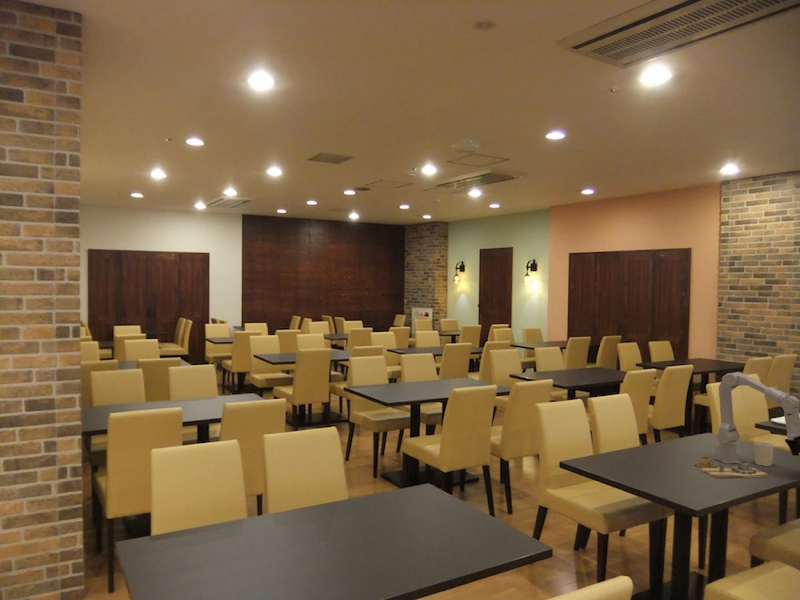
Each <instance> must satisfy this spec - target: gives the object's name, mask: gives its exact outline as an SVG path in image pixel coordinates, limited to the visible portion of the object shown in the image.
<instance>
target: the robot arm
mask: <svg viewBox="0 0 800 600" xmlns="http://www.w3.org/2000/svg"><path fill="white" fill-rule="evenodd" d="M721 379H722V380H721V381H720V384H719V386H718V397H719V409H720V410H719V412H720V425H719V426H718V431H717V436H716V437H717V440H718V441H717V442H716V444H715V454H714V455H715V457H713V459H715V460H716V461H719V462H722V463H723V464H738V462H739V460H737V455H738V454H737V448H738V446H737V444H738V442H737V441H738V440H739V439H740V434H739V433H740V432H738V431H739V430H738V429H737V426H736V424H735V423H734V421H735V420H734V409H733V397H732V391H733V390H735V389H736V388H737V387H739V386H740V387H741V386H748V387H750V388H752V389H753V390H756V391H757V392H760V393H762V394H764V397H765V398H767V399H768V400H769V401H772V402H774V403H776V404H778V405H779V406H780V407H781V408H782V410H783V413H784V416H783V417H784V420H785V426H786V428H785V429H786V436H787V438H785V439H784V442H785V443H786V444H787V446H788V448H789V450H790V454H791V455H792V456H796V457H797V456H798V457H799V456H800V455H799V454H800V410H799V407H800V400H799V398H798V397H796V396H795V395H790V394H789V393H788V392H786V393H785V392H783V391H782V390H779V387H777V386H775V387H774V386H770V387H768V386H767V385H765V384H763V383H761V382H760V381H757V380H756V379H754V378H752V377H751V376H749V375H748V374H746V373H744V372H741V371H737V372H730V373H726V374H725V375H723V376H722V378H721Z"/></svg>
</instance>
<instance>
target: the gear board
mask: <svg viewBox="0 0 800 600" xmlns="http://www.w3.org/2000/svg"><path fill="white" fill-rule="evenodd" d="M738 461H739V460H738ZM724 464H725V463H719V467H717V468H699V469H700V470H701V471H700V470H699V471H700V472H702V471H703V473H704V472H705V473H704V474H706V473H707V475H708V474H709V475H708V476H710V475H711V476H710V477H712V476H713V477H712V478H714V477H715V478H714V479H716V478H719V479H745V478H746V479H747V478H748V479H749V478H750V479H751V478H752V477H756V478H770V474H768V473H766V472H764V471H761V470H759V469H757V468H754V467H752V466H750V463H749V462H748V461H746V459H741V461H739V462H738V463H737V465H736V466H731V467H724V466H725V465H724ZM752 479H753V478H752Z"/></svg>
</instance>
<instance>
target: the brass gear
mask: <svg viewBox="0 0 800 600" xmlns="http://www.w3.org/2000/svg"><path fill="white" fill-rule="evenodd" d="M693 464H694V465H696V466H695V467H697V468H698V467H701V468H718V464H715V463H714V462H712V458H711V457H710V456H709V457H708V456H700V461H694V463H693Z"/></svg>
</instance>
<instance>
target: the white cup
mask: <svg viewBox="0 0 800 600" xmlns="http://www.w3.org/2000/svg"><path fill="white" fill-rule="evenodd" d="M753 446H754V448H753V449H754V459H755V461H754V462H755V464H756V465H759V466H762V465H763V466H762V467H772V466H773V458H774V457H773V456H774V444H773V443H772V442H766V441H754V442H753ZM771 465H772V466H771Z"/></svg>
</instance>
